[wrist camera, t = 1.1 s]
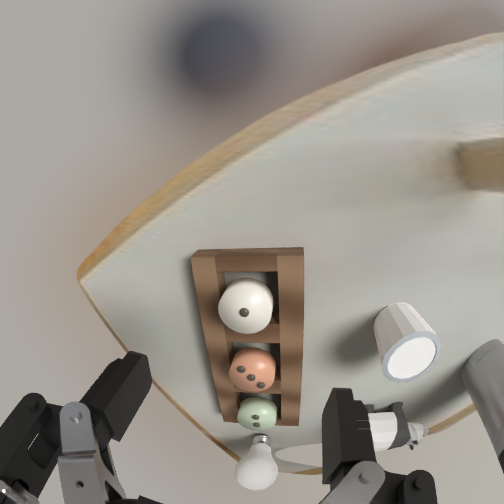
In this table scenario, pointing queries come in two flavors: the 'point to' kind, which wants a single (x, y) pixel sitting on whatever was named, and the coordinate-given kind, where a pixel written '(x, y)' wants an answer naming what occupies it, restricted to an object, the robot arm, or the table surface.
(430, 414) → the table surface
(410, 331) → the white tapered cylinder
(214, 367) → the button board
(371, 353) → the table surface
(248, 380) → the button three
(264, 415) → the button two
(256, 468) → the light bulb
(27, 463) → the robot arm
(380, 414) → the giant panda
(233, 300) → the button one
